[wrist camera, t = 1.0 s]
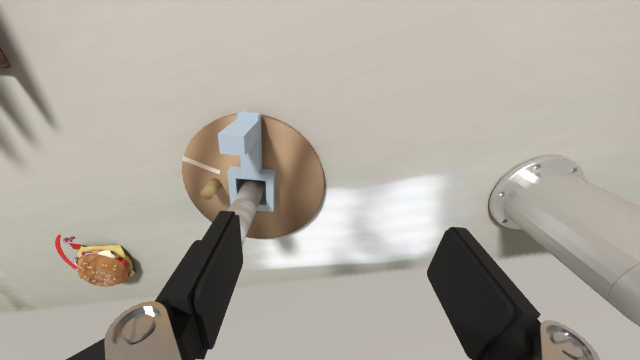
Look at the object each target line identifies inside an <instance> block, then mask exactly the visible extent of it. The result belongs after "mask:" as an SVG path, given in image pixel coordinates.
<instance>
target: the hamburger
mask: <svg viewBox="0 0 640 360" xmlns="http://www.w3.org/2000/svg"><path fill="white" fill-rule="evenodd" d="M60 238H61V235H58V236H57V238H56V241H55V245H56V249H57V251H58V253H59V255H60V256H61V257H62V258H63V260H64V261H65V262H67V263H68V264H69V265H70V266H71V267H73V268H74V269H76V270H77V272H78V275H79V276H80V278H81V279H83V280H85V281H87V282H88V283H90V284H93V285H97V286H99V287H101V286H104V287H107V286H114V285H118V284H120V283H123V282H125V281H126V280H127V279H129V278H130V277H131V276H133V275H134V274H135V272H134V271H133V264H132V261H131V259H130V258H129V256H128V255H126V254H125V253H124V251H123V250H122V248H121V246H120V244H119V245H110V246H101V247H98V246H91V247H82V246H80V244H76V243H75V242H72V241H71V240H70V239H75V237H70V238H67V237H66V238H65V239H64V240H63V241H64V243H67V242H68V243H69V244H70V245H71V246H72V248H73V249H79V250H80V253H79V251H78V256H77V258H74V259H73V260H74V262H75V264H76V266H77V267H76V266H75V265H74V264H73V263H72V262H70V261H69V260H68V258H67V257H66V256H65V254H64V253H63V251H62V249H61V246H60ZM68 243H67V244H68ZM76 259H77V262H76Z"/></svg>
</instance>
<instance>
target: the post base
mask: <svg viewBox="0 0 640 360" xmlns="http://www.w3.org/2000/svg"><path fill="white" fill-rule="evenodd" d="M236 119H237V114H233V115H229V116H225V117H222V118H220V119H218V120H215V121H214V122H212V123H210V124H209V125H207V126H205V127H204V128H203V129H201V130H200V131H199V132H198V133H197V134H196V135H195V136H194V137H193V139H192V140H191V141H190V143H189V145H188V146H187V148H186V151H185V154H184V156H183V163H182V175H183V181H184V185H185V188H186V190H187V193H188V195H189V197H190V199H191V200H192V202H193V203H194V205H195V206H196V207H197V209H198V210H199V211H200V212H201V213H202V214H203V215H204V216H205V217H206V218H207V219H209V220H210V221H211V222H213V221H214V220H215V218H216V216H217V215H218V213H219V212H220V211H221V210H222V211H234V212H235V215H239V217H240V228H241V240H242V245H243V243H244V240H245V238H246V237H249V238H263V239H265V238H275V237H280V236H283V235H287V234H289V233H292V232H294V231H296V230H298V229H299V228H301V227H302V226H304V225H305V224H306V223H307V222H308V221H309V220H310V219H311V218H312V217H313V216H314V214H315V213H316V212H317V210H318V208H319V206H320V203H321V201H322V197H323V192H324V176H323V170H322V166H321V162H320V160H319V158H318V155H317V154H316V152H315V150H314V148H313V147H312V146H311V144H310V143H309V142H308V141H307V140H306V139H305V138H304V137H303V136H302V135H301V134H300V133H299V132H298V131H296V130H295V129H294V128H292V127H291V126H289V125H287V124H286V123H284V122H282V121H279V120H277V119H275V118H272V117H268V116H265V115H261V137H262V169H271V170H275V208H274V211H273V212H269V211H256V210H257V207H258V205H259V202H260V200H261V199H266V181H262V180H249V179H239V180H240V190H239V192H238V194H237V196H236V197H235V199H234V201H233V202H232V204H230V194H229V184H228V174H227V171H228V169H229V168H230V167H231V166H236V167H241V162H240V155H228V154H220V150H219V141H218V133H219V132H221V131H222V130H223V129H225V128H226V127H227V126H228V125H230V124H231V123H232V122H233V121H235V120H236Z"/></svg>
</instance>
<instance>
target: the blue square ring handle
mask: <svg viewBox="0 0 640 360" xmlns="http://www.w3.org/2000/svg"><path fill="white" fill-rule="evenodd" d="M218 141H219V150H220V154H228V155H240V162H241V167H236V166H231V167H230V168H229V169H228V171H227V174H228V184H229V194H230V204H232V202H233V201H234V199H235V197H236V196H237V194H238V192H239V190H240V180H239V179H249V180H262V181H266V199H261V200H260V202H259V205H258V207H257V210H256V211H269V212H273V211H274V208H275V170H271V169H262V137H261V113H253V112H243V111H241V112H239V113H238V114H237V119H236V120H235V121H233V122H232V123H231V124H230V125H228V126H227V127H226V128H225V129H223V130H222V131H221V132H219V133H218Z"/></svg>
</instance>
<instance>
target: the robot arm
mask: <svg viewBox="0 0 640 360" xmlns="http://www.w3.org/2000/svg"><path fill="white" fill-rule="evenodd" d="M489 209H490V213H491V215H492V217H493V218H494V219H495V220H496V221H497V222H498V223H499V224H501V225H502V226H504V227H507V228H511V229H523V230H524V231H525V232H526V233H527V234H529V235H530V236H531V237H532V238H533V239H534V240H536V241H537V242H538V243H539V244H540V245H541V246H543V247H544V248H545V249H546V250H547V251H549V252H550V253H551V254H552V255H553V256H554V257H556V258H557V259H558V260H559V261H560V262H561V263H563V264H564V265H565V266H566V267H567V268H569V269H570V270H571V271H572V272H573V273H574V274H576V275H577V276H578V277H579V278H580V279H582V280H583V281H584V282H585V283H586V284H588V285H589V286H590V287H591V288H592V289H593V290H594V291H596V292H597V293H598V294H599V295H600V296H601V297H603V298H604V299H605V300H606V301H608V302H609V303H610V304H611V305H612V306H613V307H615V308H616V309H617V310H618V311H619V312H621V313H622V314H623V315H624V316H625V317H627V318H628V319H629V320H631V321H632V322H634V323H635V324H637V325H638V326H640V206H638V205H636V204H634V203H631V202H629V201H627V200H625V199H623V198H621V197H619V196H617V195H614V194H612V193H610V192H608V191H606V190H604V189H602V188H599V187H597V186H595V185H593V184H591V183H589V182H587V181H584V174H583V171H582V169H581V167H580V166H579V165H577V164H576V163H575V162H573V161H571V160H569V159H566V158H563V157H559V156H545V157H540V158H536V159H533V160H530V161H528V162H525V163H523V164H521V165H520V166H518V167H516V168H515V169H513V170H512V171H510V172H509V173H508V174H507V175H506V176H505V177H503V178H502V179H501V181H500V182H499V183H498V184H497V185H496V187H495V189H494V191H493V192H492V195H491V198H490V202H489ZM242 264H243V253H242V240H241V228H240V217H239V215H235V212H234V211H222V210H221V211H220V212H219V213H218V215H217V216H216V218H215V220H214V221H213V223H212V224H211V226H210V228H209V229H208V231H207V232H206V234H205V236H204V237H203V239H202V240H196V241H195V242H194V243H193V244H192V245H191V247H190V248H189V250H188V251H187V253H186V254H185V256H184V258H183V259H182V261H181V262H180V264H179V265H178V267H177V268H176V270H175V271H174V273H173V274H172V276H171V277H170V279H169V280H168V282H167V283H166V285H165V286H164V288H163V289H162V291H161V292H160V294H159V296H158V297H157V299H156V300H155V302H153V301H150V302H143V303H140V304H138V305H135V306H133V307H131V308H129V309H128V310H126V311H124V312H123V313H122V314H121V315H120V316H118V317H117V318H116V319H115V320H114V322H113V323H112V324H111V325H110V327H109V328H108V330H107V332H106V334H105V338H104V339H102V340H100V341H99V342H97V343H95V344H93V345H91V346H90V347H88V348H86V349H85V350H83V351H81V352H79V353H77V354H75V355H74V356H72V357H70V358H68V359H66V360H195V359H204V358H205V355H206V353H207V350H208V349H212V348H213V347H214V344H215V341H216V338H217V336H218V333H219V330H220V327H221V325H222V322H223V319H224V316H225V313H226V310H227V307H228V305H229V302H230V299H231V296H232V293H233V291H234V288H235V285H236V282H237V279H238V276H239V274H240V271H241V268H242ZM427 276H428V279H429V281H430V283H431V285H432V287H433V289H434V291H435V293H436V295H437V297H438V298H439V300H440V302H441V305H442V307H443V309H444V311H445V313H446V315H447V317H448V318H449V320H450V323H451V325H452V327H453V329H454V331H455V333H456V335H457V337H458V339H459V341H460V343H461V345H462V347H463V349H464V351H465V353H466V354H467V356H468V357H469V358H470V359H472V360H600V359H599V357H598V355H597V353H596V352H595V350H594V349H593V348H592V346H591V345H590V344H589V343H588V342H587V341H586V340H585V339H584V338H583V337H581V336H580V335H579V334H577V333H576V332H575V331H573V330H572V329H570V328H568V327H566V326H565V325H562V324H560V323H558V322H554V321H544V322H542V323H540V322H539V320H537V318H538V317H539V316H540V313H539V312H538V311H537V310H536V309H535V308H534V306H533V305H532V304H531V303H530V302H529V301H528V299H527V298H526V297H525V296H524V295H523V294H522V292H521V291H520V290H519V289H518V288H517V287H516V286H515V284H514V283H513V282H512V281H511V280H510V279H509V277H508V276H507V275H506V274H505V273H504V272H503V270H502V269H501V268H500V267H499V266H498V265H497V263H496V262H495V261H494V260H493V259H492V258H491V257H490V255H489V254H488V253H487V252H486V251H485V250H484V248H483V247H482V246H481V245H480V244H479V243H478V241H477V240H476V239H475V238H474V237H473V236H472V235H471V233H470V232H469V231H468V230H467V229H466V228H459V227H451V228H449V230H446V231H445V233H444V235H443V238H442V240H441V242H440V244H439V246H438V248H437V251H436V253H435V255H434V257H433V259H432V261H431V263H430V266H429V268H428V270H427Z"/></svg>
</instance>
